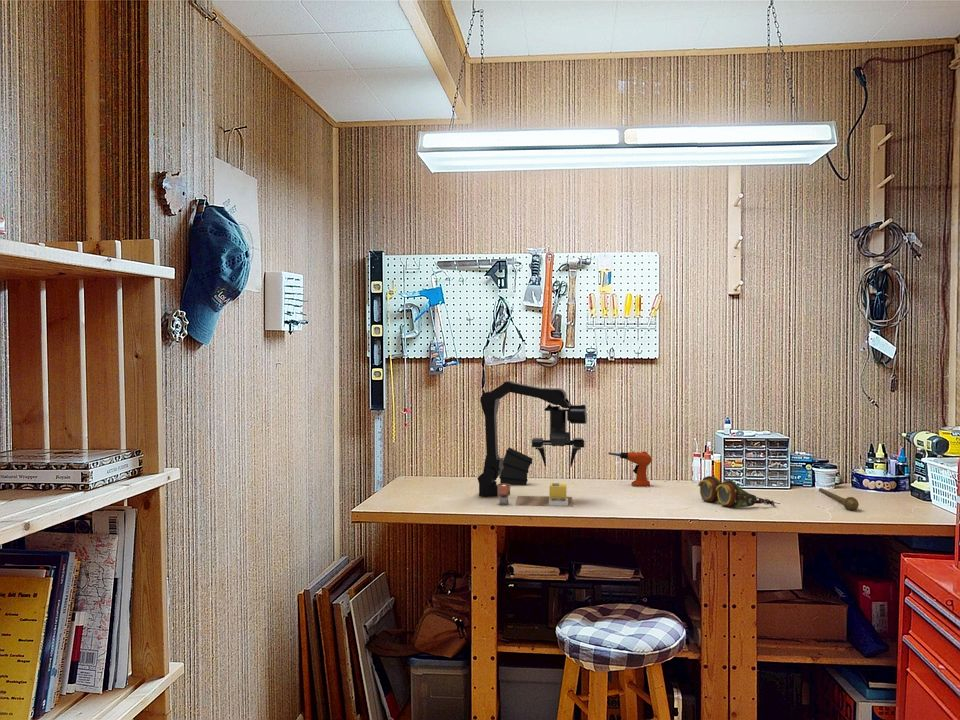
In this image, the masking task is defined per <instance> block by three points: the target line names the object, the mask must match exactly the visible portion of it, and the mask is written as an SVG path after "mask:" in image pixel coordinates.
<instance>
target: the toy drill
mask: <svg viewBox="0 0 960 720" xmlns="http://www.w3.org/2000/svg"><path fill="white" fill-rule="evenodd" d="M607 454H608V455H611V456H616V457H619V458H620V459H624V460H627V461H629V462H630V463H634V464H636V465H635V467H634V469H632V472H634V474H635V475H636V476H635V477H636V478H635V480H633V481H631V486H632V487H637V488H638V487H639V488H642V487H643V488H644V487H647V486H648V487H650V486H651V483H650V482H651V481H650V480H649V479H648V477H647V469H648V466H649V465H650V464H651V463H652V456H651V454H650V453H648V451H645V450H644V451H642V452H640V451H636V452H635V451H630V452H629V451H628V452H620V453H619V452H618V453H615V452H611V451H610V452H608V453H607Z"/></svg>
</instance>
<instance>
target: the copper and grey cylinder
mask: <svg viewBox="0 0 960 720" xmlns="http://www.w3.org/2000/svg"><path fill="white" fill-rule="evenodd" d="M497 485H498V496H499V505H501V506H507V505H509V496H510V495H511V485H510V484H506V483H502V484H500V483H497Z"/></svg>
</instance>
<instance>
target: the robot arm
mask: <svg viewBox="0 0 960 720" xmlns="http://www.w3.org/2000/svg"><path fill="white" fill-rule="evenodd" d="M510 393H511V394H513V393H514V394H518V395H522V396H527V397H531V398H532V397H533V398H537V399H540V400H541V401H544V402H547V403H548V405H547V406H546V407H545V408H544V409H543V410H544V411H545V412H549V439H544V437H533V438H532V440H531V447H532V448H535V450H536V451H537V450H538V452H539V453H540V456H541V458H542V459H541V460H542V462H543V465H544V467H547V461H546V460H547V459H546V453H545V451H546V450H545V446H552V447H565V446H571V452H570V453H571V454H570V460H569V461H570V462H569V463H570V465H569V466H570V468H571V467H572V465H573V463H574V461H575V458H576V455H577V452H578V451H580V450H581V449H583V448H585V439H584V438H583V437H573V438H572V439H571V432H567V422H569V423H570V425H571V424H572V425H573V424H577V425H579V424H581V425H582V424H583V425H586V424H587V422H588V420H587V419H588V413H587V406H586V404H578V405H577V404H572V403H571V402H570V400H569V399H568V398H567V397H568V395H567V392H566V391H565V390H564V388H563V389H562V388H559V387H558V388H557V387H540V386H539V387H538V386H533V385H529V384H524V383H518V382H514V381H512V380H507V381H504V382H503V383H502V384H501V385H499V386H498V387H496V388H494V389H493V390H490V391H486V392H483V394H482V395H481V396H480V399H479V400H480V405H481V410H482V412H483V415H484V420H485V421H484V424H485V425H484V427H485V444H486V445H485V447H486V455H485V459H484V464H483V472H482V473H481V474H480V475H479V476H478V477H477V478H476V479H477V481H478V496H479V497H483V498H493V497H494V498H495V497H498V496H499V495H498V484H497V481H496V480H498V479H497V478H498V477H500V475H501V473H502V469H504V466H503V460H504V457H500V455H499V451H498V449H499V447H498V424H497V422H498V421H497V414H498V410H499V406H500V400H501V399H502V398H504V397H505V396H507V395H508V394H510Z"/></svg>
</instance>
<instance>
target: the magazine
mask: <svg viewBox="0 0 960 720" xmlns="http://www.w3.org/2000/svg"><path fill="white" fill-rule="evenodd" d="M533 460H534V459H533V458H532V457H531V456H528V455H527V454H525V453H522V452H519V451H518V450H516V449H514V448H511V447H510V446H508V448H507V449H506V450H505V454H504V457H503V466H504V469H502V473H501V474H500V475H499V481H500V483H499V484H502V483H506V484H510V486H527V485H528V484H527V482H528V474H529V472H530V471H529V469H530V466H531V465H532V464H533Z"/></svg>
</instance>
